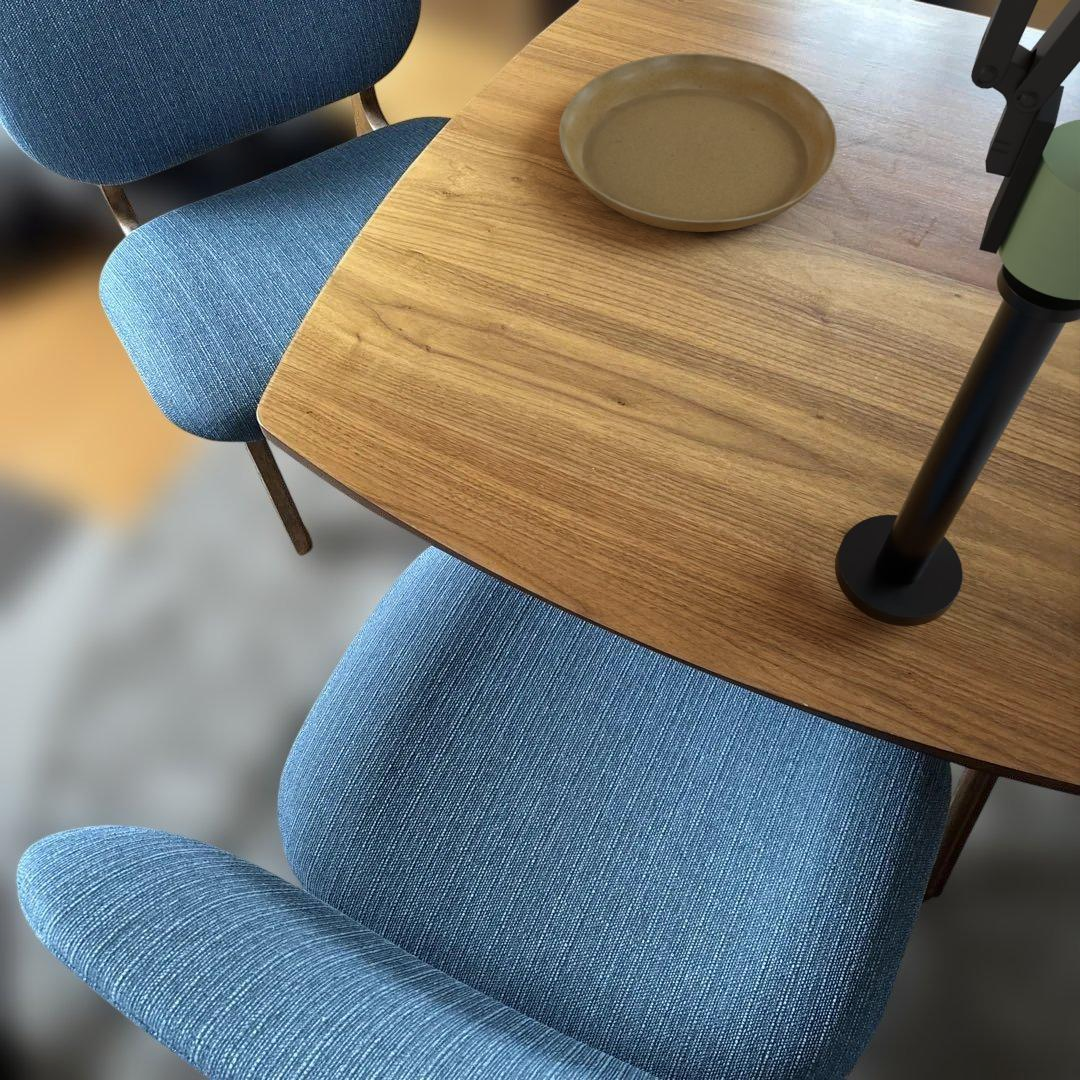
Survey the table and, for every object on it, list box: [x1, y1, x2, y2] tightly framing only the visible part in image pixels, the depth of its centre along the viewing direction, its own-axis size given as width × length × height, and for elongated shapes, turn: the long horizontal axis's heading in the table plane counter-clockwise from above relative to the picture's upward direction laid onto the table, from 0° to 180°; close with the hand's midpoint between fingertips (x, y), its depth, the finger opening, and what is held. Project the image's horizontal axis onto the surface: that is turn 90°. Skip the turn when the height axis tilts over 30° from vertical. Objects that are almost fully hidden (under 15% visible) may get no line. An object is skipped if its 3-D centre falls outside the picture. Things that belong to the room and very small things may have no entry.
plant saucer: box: [558, 52, 838, 233], centre depth 91 cm, size 24×24×3 cm
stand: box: [834, 263, 1080, 627], centre depth 58 cm, size 8×8×26 cm
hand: (1065, 249), depth 46 cm, fingers closed on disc, 6 cm apart
